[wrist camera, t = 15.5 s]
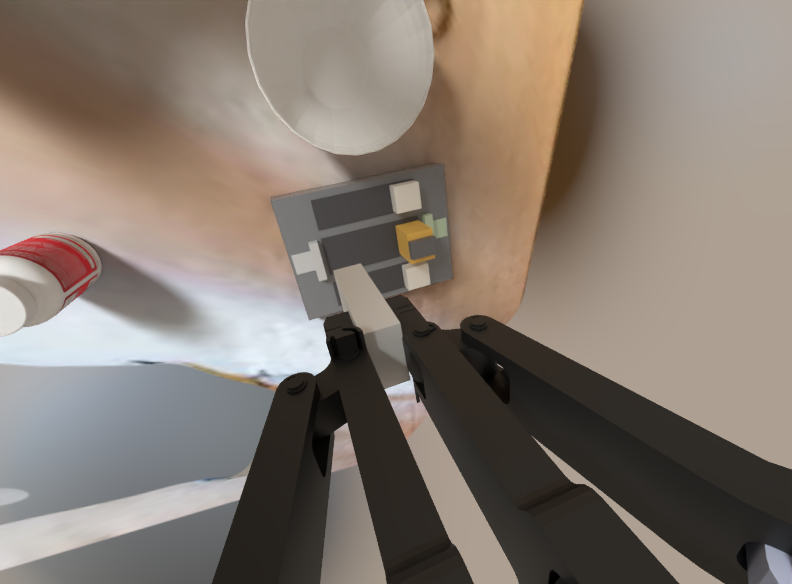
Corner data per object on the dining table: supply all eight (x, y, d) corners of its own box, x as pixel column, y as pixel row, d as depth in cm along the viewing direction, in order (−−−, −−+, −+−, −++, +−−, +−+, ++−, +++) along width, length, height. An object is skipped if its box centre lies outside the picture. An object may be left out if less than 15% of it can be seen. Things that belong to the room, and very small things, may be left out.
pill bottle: (24, 223, 32) (-85, 261, 22) (105, 239, 34) (39, 279, 25) (25, 283, 34) (-74, 341, 24) (102, 293, 36) (39, 350, 26)
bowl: (424, 124, 39) (451, 122, 33) (296, 174, 37) (300, 181, 31) (380, -56, 31) (405, -102, 25) (215, -7, 29) (200, -43, 23)
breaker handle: (399, 253, 42) (413, 266, 38) (395, 225, 40) (409, 236, 36) (421, 247, 42) (438, 260, 38) (418, 220, 41) (435, 229, 36)
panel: (307, 311, 44) (310, 326, 41) (270, 197, 37) (270, 203, 34) (445, 272, 48) (458, 283, 45) (435, 162, 41) (450, 165, 38)
